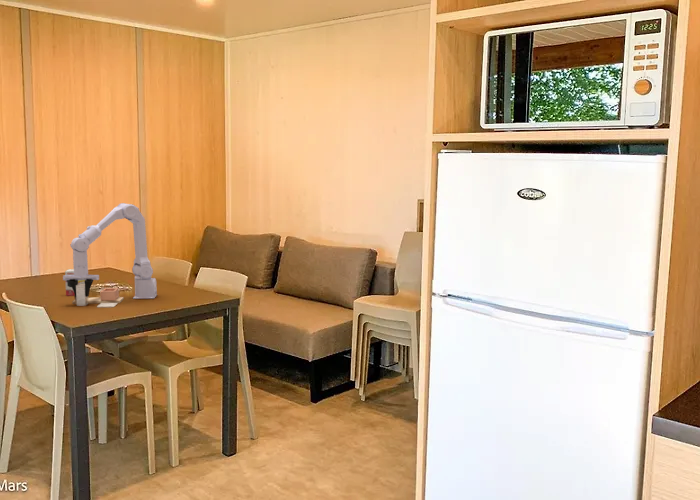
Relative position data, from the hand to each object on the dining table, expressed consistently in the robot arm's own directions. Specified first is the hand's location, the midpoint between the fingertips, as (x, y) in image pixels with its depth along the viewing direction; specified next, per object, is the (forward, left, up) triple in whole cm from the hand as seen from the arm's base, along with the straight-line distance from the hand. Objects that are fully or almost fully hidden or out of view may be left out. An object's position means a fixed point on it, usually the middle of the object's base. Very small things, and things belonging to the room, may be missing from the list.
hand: (81, 296), depth 286 cm
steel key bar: (0, 0, -4) cm, 4 cm away
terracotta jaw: (-10, -7, -3) cm, 12 cm away
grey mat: (-11, +2, -4) cm, 12 cm away
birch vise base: (-5, -7, -4) cm, 9 cm away
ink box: (+9, -23, -4) cm, 25 cm away
